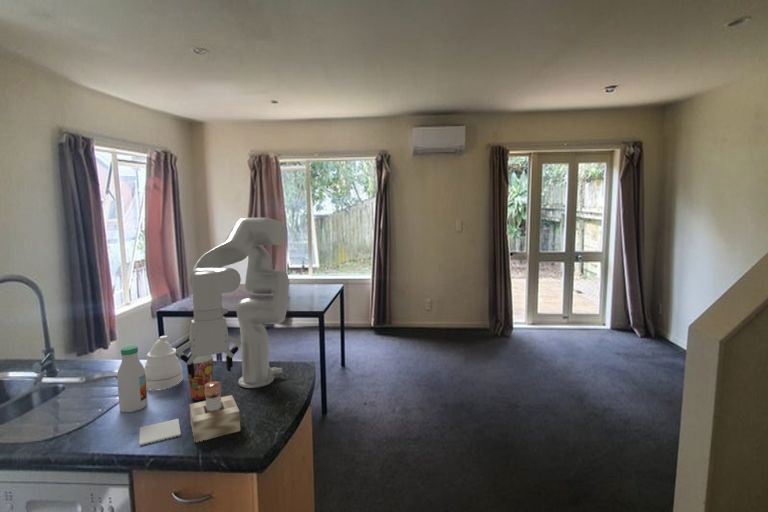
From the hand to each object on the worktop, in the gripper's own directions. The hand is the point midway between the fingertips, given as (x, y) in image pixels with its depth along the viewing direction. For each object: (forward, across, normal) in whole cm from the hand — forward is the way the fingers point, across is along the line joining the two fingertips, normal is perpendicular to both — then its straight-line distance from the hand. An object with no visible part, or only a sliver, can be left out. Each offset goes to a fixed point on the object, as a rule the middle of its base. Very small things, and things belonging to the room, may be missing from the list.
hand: (210, 373), depth 116 cm
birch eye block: (+17, 0, -1) cm, 17 cm away
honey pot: (+16, +12, -45) cm, 49 cm away
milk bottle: (+17, +20, -28) cm, 38 cm away
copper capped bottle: (+17, 0, -1) cm, 17 cm away
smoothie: (+16, 0, -25) cm, 30 cm away
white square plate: (+17, +14, -6) cm, 22 cm away
